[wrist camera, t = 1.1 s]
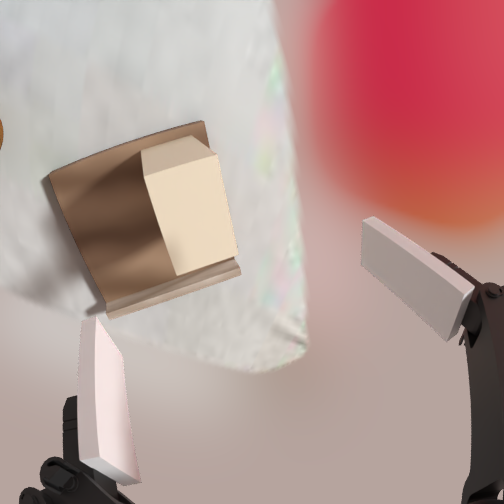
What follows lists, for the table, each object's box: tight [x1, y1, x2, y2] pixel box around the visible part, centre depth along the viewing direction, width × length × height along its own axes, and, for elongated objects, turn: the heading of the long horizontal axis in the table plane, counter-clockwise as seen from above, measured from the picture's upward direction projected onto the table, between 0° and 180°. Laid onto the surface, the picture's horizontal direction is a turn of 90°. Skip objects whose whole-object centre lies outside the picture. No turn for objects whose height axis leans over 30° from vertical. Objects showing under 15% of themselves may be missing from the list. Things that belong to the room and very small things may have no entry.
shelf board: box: [49, 120, 242, 320], centre depth 30 cm, size 17×16×4 cm
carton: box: [141, 135, 239, 276], centre depth 25 cm, size 8×5×10 cm, turn 10°
